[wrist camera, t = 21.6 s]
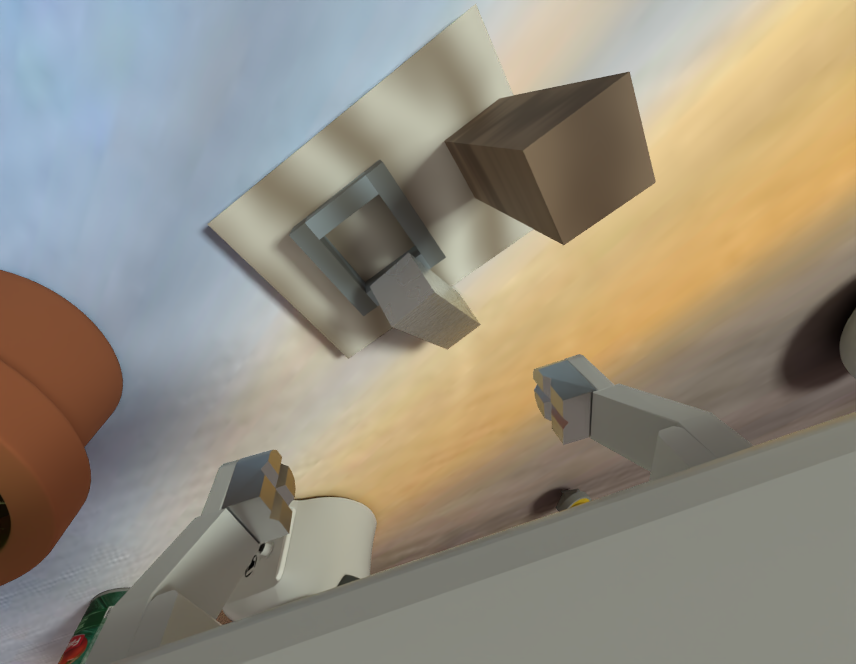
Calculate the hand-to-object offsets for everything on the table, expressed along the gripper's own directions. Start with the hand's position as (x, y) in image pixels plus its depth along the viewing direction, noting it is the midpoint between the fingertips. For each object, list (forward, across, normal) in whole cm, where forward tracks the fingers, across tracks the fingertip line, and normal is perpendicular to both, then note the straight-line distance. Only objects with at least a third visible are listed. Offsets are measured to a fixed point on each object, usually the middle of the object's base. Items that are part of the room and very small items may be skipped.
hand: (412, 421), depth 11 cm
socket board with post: (+23, -3, -1) cm, 23 cm away
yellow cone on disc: (+23, -17, +47) cm, 55 cm away
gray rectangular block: (+16, -1, +2) cm, 16 cm away
